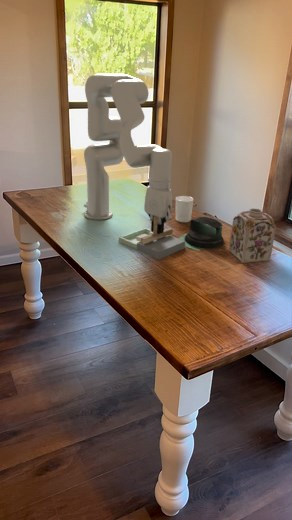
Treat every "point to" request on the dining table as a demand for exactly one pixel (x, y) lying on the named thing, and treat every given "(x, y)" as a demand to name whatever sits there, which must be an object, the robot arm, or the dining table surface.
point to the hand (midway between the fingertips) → (157, 231)
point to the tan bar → (155, 235)
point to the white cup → (183, 208)
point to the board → (161, 247)
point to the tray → (133, 238)
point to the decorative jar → (252, 236)
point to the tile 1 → (140, 237)
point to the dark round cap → (204, 234)
